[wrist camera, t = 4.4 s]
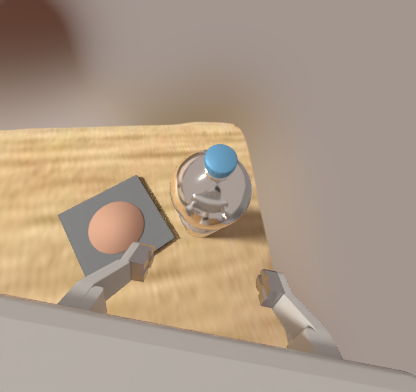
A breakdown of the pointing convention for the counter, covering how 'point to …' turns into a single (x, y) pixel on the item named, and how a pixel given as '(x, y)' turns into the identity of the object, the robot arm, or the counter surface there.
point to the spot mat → (114, 225)
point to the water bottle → (210, 190)
